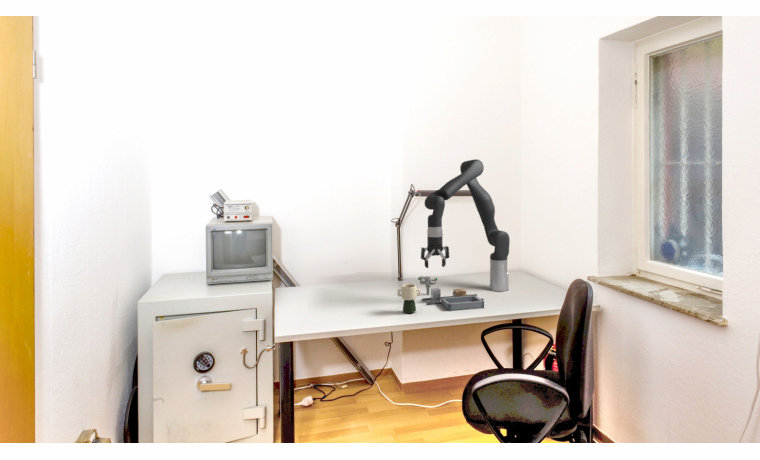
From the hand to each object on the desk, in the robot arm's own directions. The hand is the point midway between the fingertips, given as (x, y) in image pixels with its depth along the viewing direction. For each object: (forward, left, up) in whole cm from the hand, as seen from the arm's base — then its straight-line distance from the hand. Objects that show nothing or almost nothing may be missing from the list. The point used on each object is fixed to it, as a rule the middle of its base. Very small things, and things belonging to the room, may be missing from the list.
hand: (435, 267), depth 213 cm
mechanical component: (0, -14, -18) cm, 23 cm away
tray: (-10, +11, -18) cm, 23 cm away
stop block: (0, 0, -18) cm, 18 cm away
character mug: (+17, +12, -18) cm, 28 cm away
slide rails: (-9, 0, -18) cm, 20 cm away
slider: (-13, 0, -18) cm, 22 cm away
